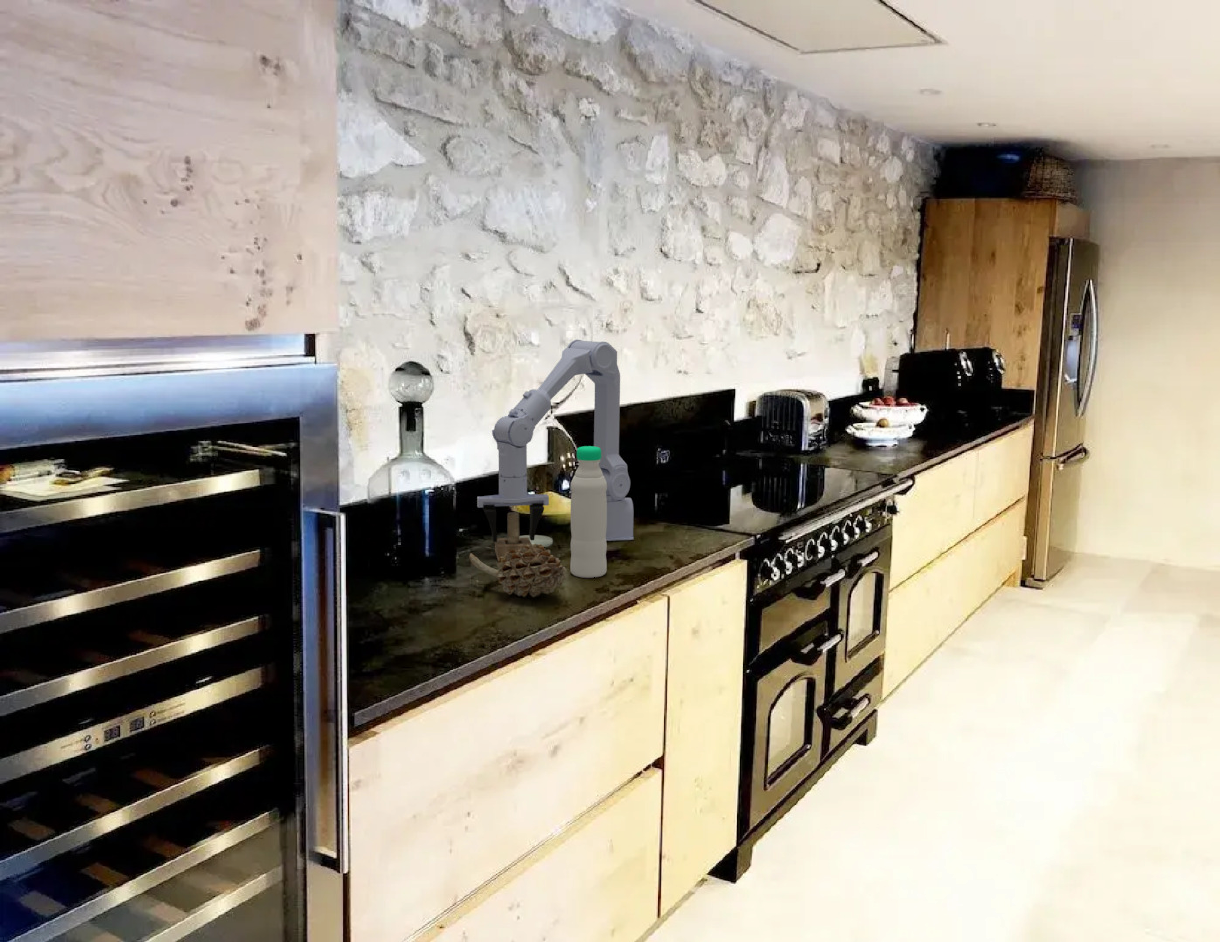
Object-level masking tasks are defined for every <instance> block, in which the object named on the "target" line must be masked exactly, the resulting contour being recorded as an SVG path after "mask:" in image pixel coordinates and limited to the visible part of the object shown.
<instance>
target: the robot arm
mask: <svg viewBox="0 0 1220 942" xmlns="http://www.w3.org/2000/svg"><path fill="white" fill-rule="evenodd" d="M579 375H585V376H587V377H588V378H589V379H590V380H591V381H592V382H593V384H594V414H593V415H594V419H593V422H594V423H593V431H594V432H593V446H594V447H599V448H600V449H601V459H600V460H601V461H600V462H599V467H600V469H601V470H602V473H603V476H604V478H605V480H606V482H607V490H606V499H607V527H606V542H607V541H608V542H611V541H613V542H615V541H631V540H633V541H634V502H633V500H632V498H631V497H626V496H627V495H628V493H629V491H630V488H631V478H630V476H629V472H628V464H627V462H625V460H623V458H622V457H621V455H620V415H621V414H620V409H621V407H620V405H621V404H620V402H621V398H620V397H621V373H620V369H619V366H618V351H617V349H615V347H613V345H611V343H609V342H606V341H592V340H591V341H590V340H582V339H575V340H572V341H571V342H570V343H569V344H568V345H567V347H566V348H564V349H563V350H562V352H561V358H560V360H559V361H558V362H557V363H556V365H555V366H554V368H553V369H551V372H550V373H549V374H548V375H547V377H546V378H545V380H543V382H542V383H541V384H540V386H539V387H538V389H537V388H535V389H529V390H528V391H527V390H526V391H524V393H523V394H522V398H521V399H520V400H519V402H518V403H517V404H516V405H515V406H514V407H513V408H511V409H510V410H509V411H508V415H505V416H501V417H500V418H499V419H498V420H497V421H496V423H495V424H494V427H493V428H494V429H493V430H491V434H492V436H493V437H492V438H493V439H494V441H495V443H496V449H497V450H498V494H493V495H484V496H477V498H476V499H477V500H476V502H477V503H476V504H477V505H476V506H477V508H479V509H480V508H482V510H483V511H484V514H485V517H486V519H487V521H488V523H489V527H490V531H491V537H492V542H493V543H495V542H497V539H498V533H497V509H496V507H513V506H514V507H515V506H516V507H517V506H520V507H521V506H528V507H529V532H528V533H529V534H528V535H530V540H534V537H535V535H536V532H537V528H538V524H539V522H540V520H541V519H542V516H543V513H544V511H545V507H544V506H549V505H550V503H549V501H550V499H549V497H550V496H549V495H548V494H546V493H545V494H538V493H528V475H527V473H528V468H527V467H528V463H527V462H528V461H527V460H528V459H527V456H528V455H527V453H528V451H527V449H528V448H527V447H528V444H529V443H530V442H531V441H532V440H533V436H534V430H535V429H536V427H537V425H538V424H539V423H540V422H541V420H542V419H543V418H545V416H546V414H547V413H548V412H549V411H550V410H551V409H552V401H551V400H552V399H554V397H555V396H556V395H557V394H558V393H559V392H560V391H561V390H562V389H563V388H564V387H565V386H566V385H567V384H568V383H569V382H570V381H571V380H572V379H573V378H574V377H575V376H579Z"/></svg>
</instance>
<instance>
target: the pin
mask: <svg viewBox="0 0 1220 942" xmlns="http://www.w3.org/2000/svg"><path fill="white" fill-rule="evenodd" d="M506 521H507V528H506V529H507V538H508V544H519V536H520V513H519V512H514V511H513V512H511V511H510V512H508V513H507V518H506Z"/></svg>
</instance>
